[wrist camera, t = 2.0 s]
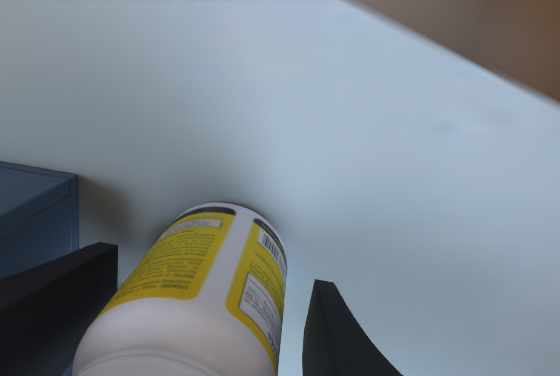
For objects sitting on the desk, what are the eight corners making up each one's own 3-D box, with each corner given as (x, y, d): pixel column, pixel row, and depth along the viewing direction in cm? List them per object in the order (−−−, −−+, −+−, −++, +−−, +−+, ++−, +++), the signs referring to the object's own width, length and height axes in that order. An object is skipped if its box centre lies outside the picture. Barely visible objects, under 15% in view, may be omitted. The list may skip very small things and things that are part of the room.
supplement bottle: (146, 279, 15) (-28, 520, 7) (189, 177, 14) (28, 343, 6) (257, 329, 16) (202, 609, 8) (311, 234, 14) (311, 463, 6)
